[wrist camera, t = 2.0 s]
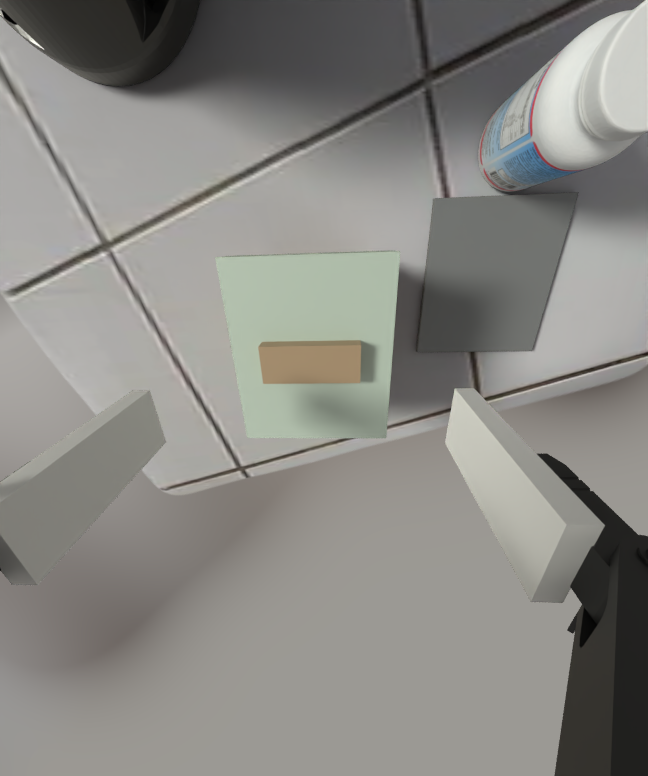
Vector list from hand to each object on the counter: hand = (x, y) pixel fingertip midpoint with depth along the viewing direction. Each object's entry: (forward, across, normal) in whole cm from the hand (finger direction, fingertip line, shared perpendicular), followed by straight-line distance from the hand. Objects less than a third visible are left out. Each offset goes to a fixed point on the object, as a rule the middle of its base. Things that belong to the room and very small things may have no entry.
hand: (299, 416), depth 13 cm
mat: (+18, +15, +4) cm, 24 cm away
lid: (+9, 0, 0) cm, 9 cm away
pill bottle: (+18, +15, +13) cm, 27 cm away
